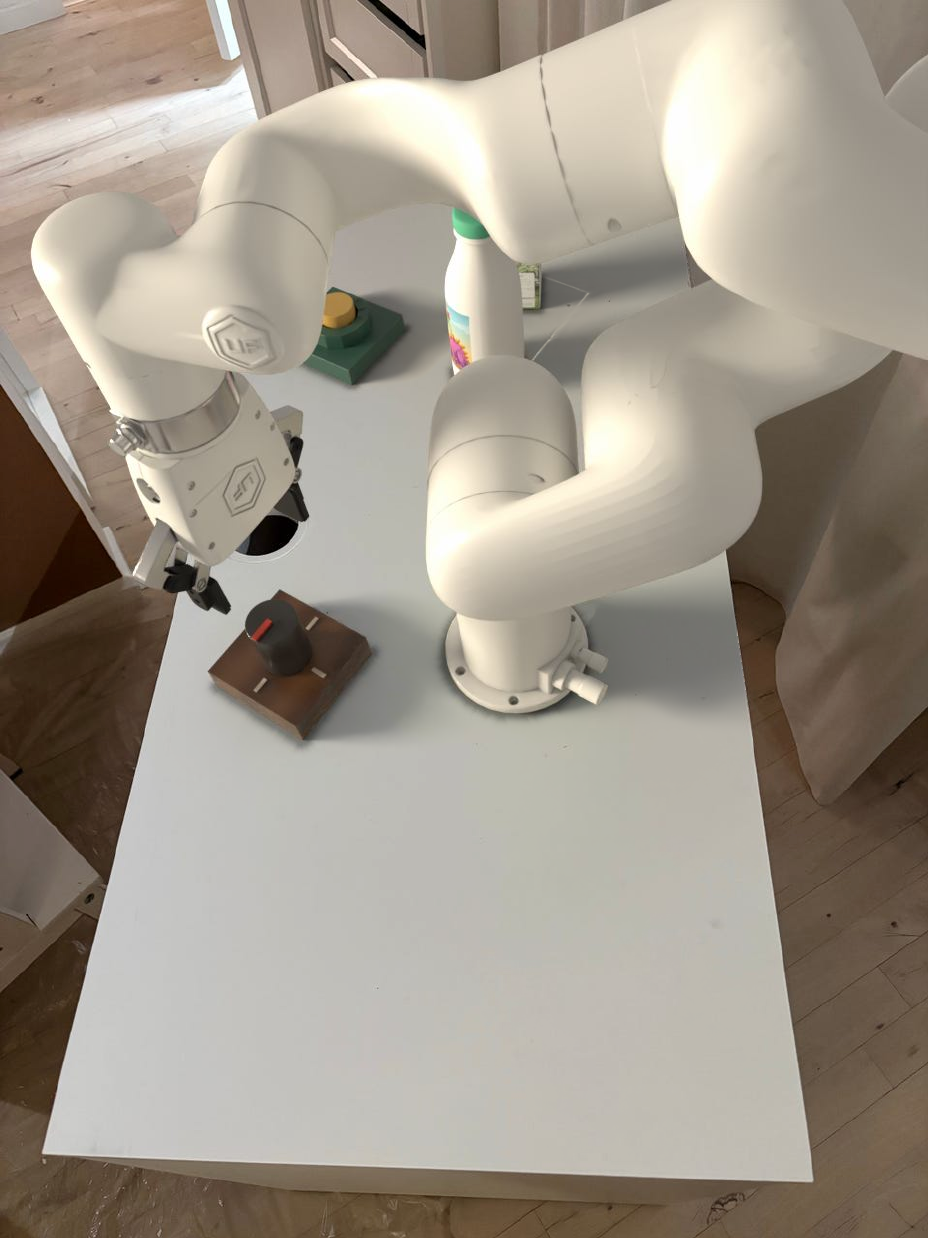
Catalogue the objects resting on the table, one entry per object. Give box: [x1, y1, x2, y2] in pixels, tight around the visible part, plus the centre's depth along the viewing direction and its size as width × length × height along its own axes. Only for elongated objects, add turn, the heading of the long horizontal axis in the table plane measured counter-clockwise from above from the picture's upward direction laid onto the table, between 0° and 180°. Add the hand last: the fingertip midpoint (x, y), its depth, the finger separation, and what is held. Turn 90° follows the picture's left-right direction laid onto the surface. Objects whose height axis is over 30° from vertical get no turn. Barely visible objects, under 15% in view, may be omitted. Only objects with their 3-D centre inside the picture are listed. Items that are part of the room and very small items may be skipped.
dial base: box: [207, 589, 372, 741], centre depth 84 cm, size 10×10×3 cm
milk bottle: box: [444, 207, 525, 376], centre depth 95 cm, size 8×8×20 cm
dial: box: [244, 598, 312, 676], centre depth 80 cm, size 4×4×6 cm
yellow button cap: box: [322, 292, 356, 329], centre depth 104 cm, size 4×4×2 cm
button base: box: [302, 286, 406, 386], centre depth 106 cm, size 10×10×4 cm
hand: (254, 557), depth 73 cm, fingers open, 9 cm apart
